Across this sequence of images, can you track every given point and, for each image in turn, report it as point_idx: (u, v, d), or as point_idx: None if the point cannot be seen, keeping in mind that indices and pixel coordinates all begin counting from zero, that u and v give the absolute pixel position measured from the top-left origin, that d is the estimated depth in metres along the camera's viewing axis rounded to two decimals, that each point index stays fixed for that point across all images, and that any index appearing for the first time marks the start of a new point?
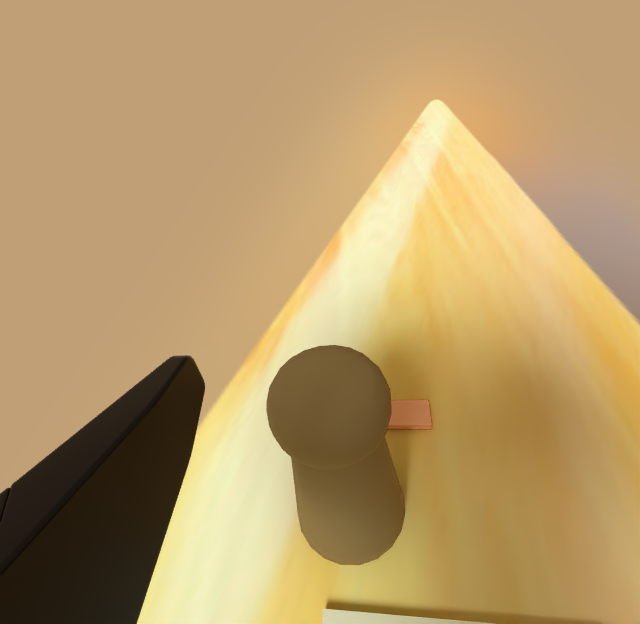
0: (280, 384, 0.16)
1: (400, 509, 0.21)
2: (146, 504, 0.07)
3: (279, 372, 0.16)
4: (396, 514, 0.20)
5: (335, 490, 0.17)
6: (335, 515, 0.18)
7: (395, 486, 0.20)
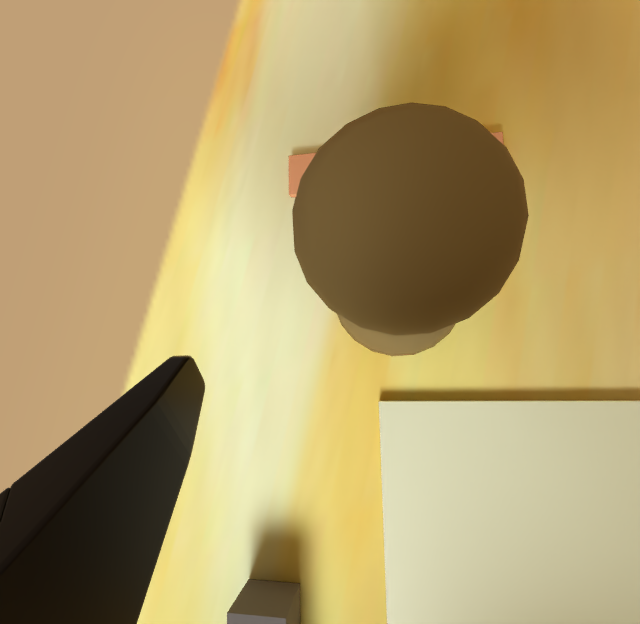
0: (318, 216, 0.08)
1: None
2: (146, 504, 0.07)
3: (308, 184, 0.08)
4: None
5: None
6: (397, 338, 0.14)
7: None
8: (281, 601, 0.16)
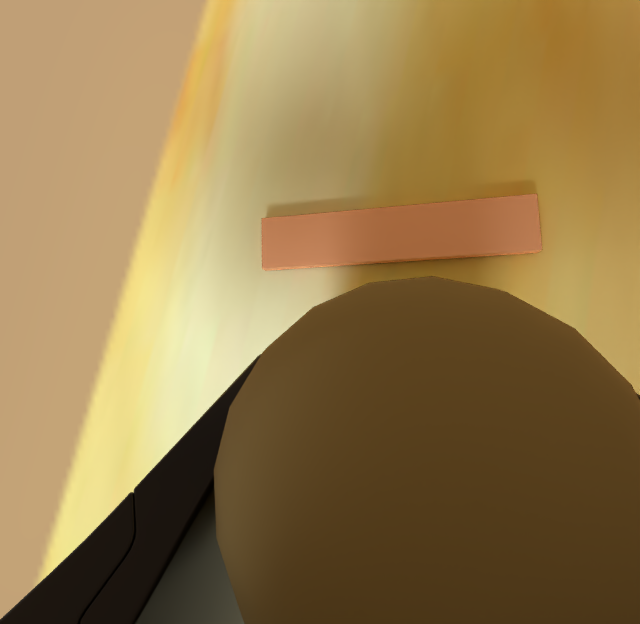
0: (250, 542, 0.04)
1: None
2: None
3: (235, 456, 0.04)
4: None
5: None
6: None
7: None
8: None
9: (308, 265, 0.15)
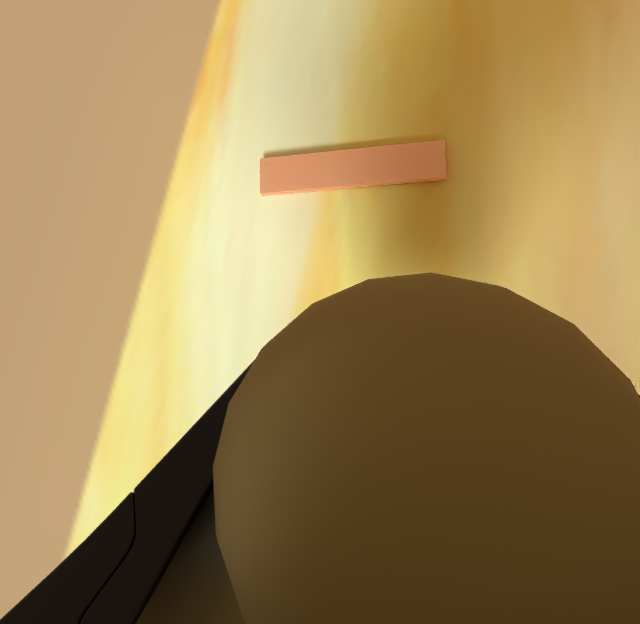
0: (248, 537, 0.04)
1: None
2: None
3: (234, 452, 0.04)
4: None
5: None
6: None
7: None
8: None
9: (292, 190, 0.22)
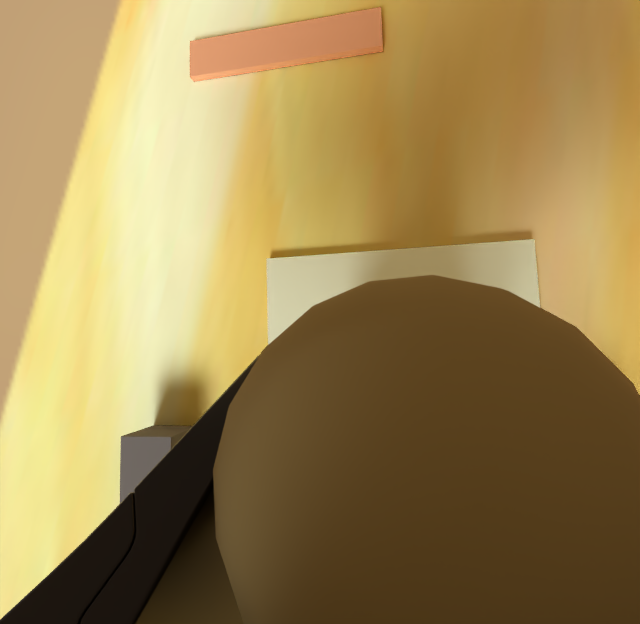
0: (248, 541, 0.04)
1: None
2: None
3: (234, 455, 0.04)
4: None
5: None
6: None
7: None
8: (173, 431, 0.18)
9: (222, 71, 0.20)
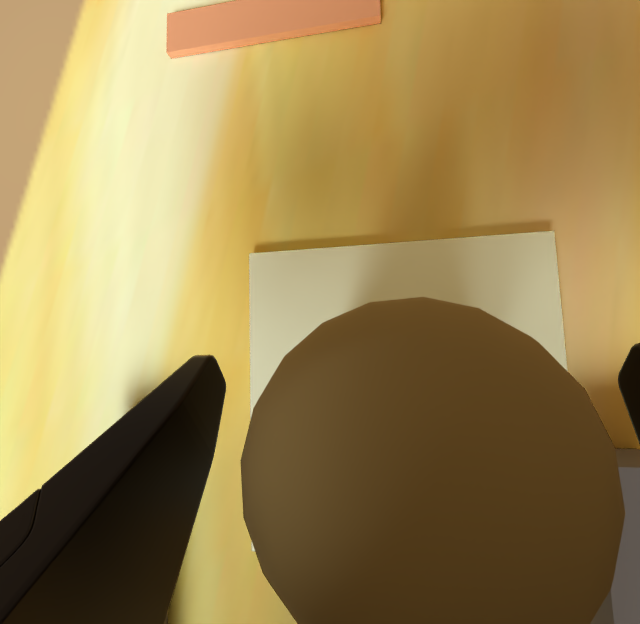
0: (274, 517, 0.05)
1: None
2: (173, 505, 0.07)
3: (261, 449, 0.05)
4: None
5: None
6: None
7: None
8: None
9: (202, 46, 0.18)
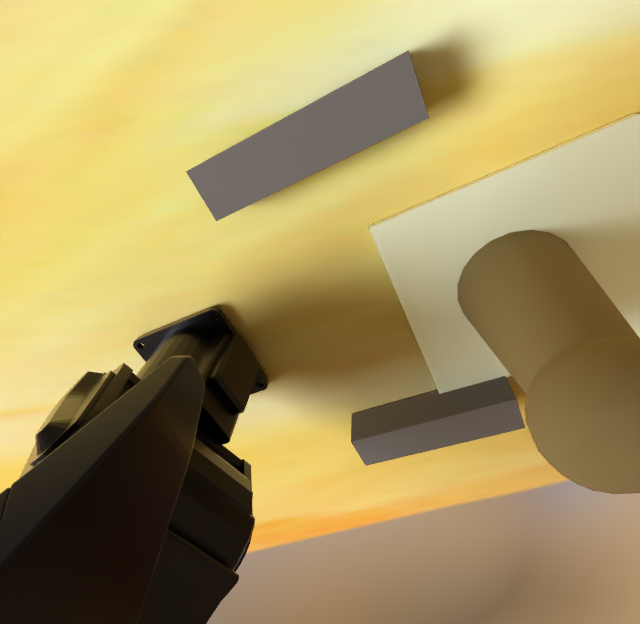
0: (632, 414, 0.11)
1: None
2: (146, 504, 0.07)
3: None
4: None
5: (513, 375, 0.16)
6: (492, 346, 0.17)
7: None
8: None
9: None
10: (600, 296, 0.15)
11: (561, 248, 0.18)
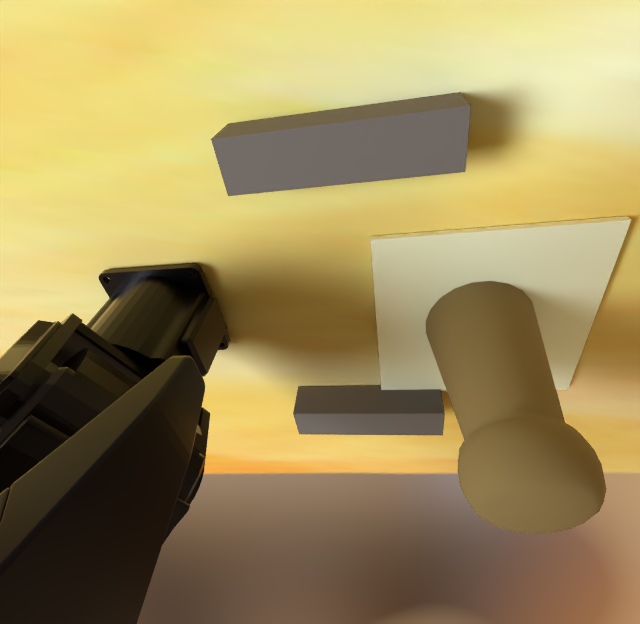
0: (542, 489, 0.14)
1: None
2: (146, 504, 0.07)
3: (566, 482, 0.13)
4: None
5: (456, 412, 0.18)
6: (445, 379, 0.20)
7: None
8: None
9: None
10: (545, 370, 0.18)
11: (527, 311, 0.20)
